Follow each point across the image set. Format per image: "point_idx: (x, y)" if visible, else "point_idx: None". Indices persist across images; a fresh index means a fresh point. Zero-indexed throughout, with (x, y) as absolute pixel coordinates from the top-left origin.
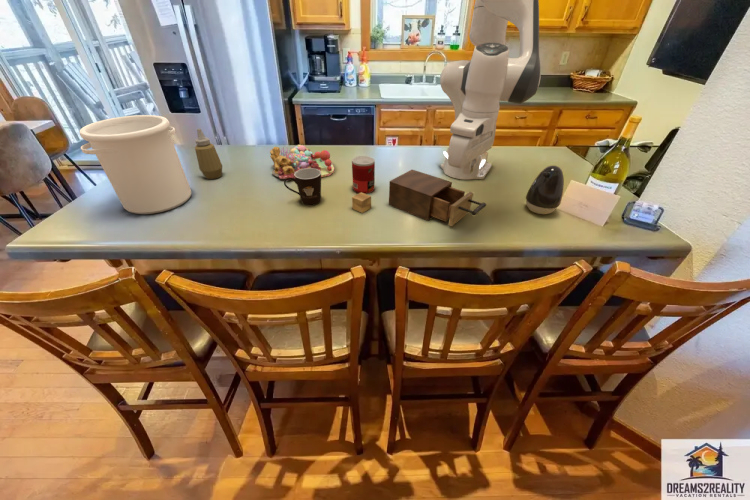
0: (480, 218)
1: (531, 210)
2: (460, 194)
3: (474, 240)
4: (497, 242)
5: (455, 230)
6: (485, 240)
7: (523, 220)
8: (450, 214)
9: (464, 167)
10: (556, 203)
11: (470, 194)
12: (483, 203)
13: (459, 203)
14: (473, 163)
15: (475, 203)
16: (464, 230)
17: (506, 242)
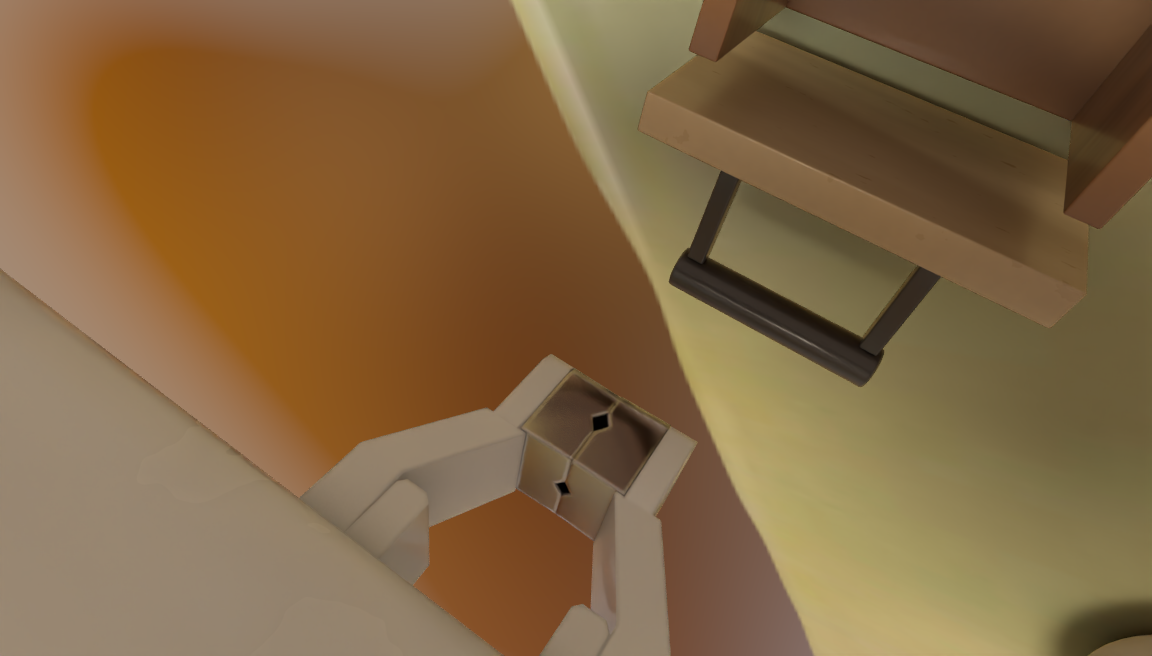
0: None
1: (1149, 635)
2: (1097, 158)
3: (656, 214)
4: (686, 330)
5: None
6: None
7: (1003, 532)
8: (692, 61)
9: (481, 417)
10: None
11: (980, 290)
12: (844, 370)
13: (716, 166)
14: (592, 578)
15: (889, 302)
16: None
17: (703, 370)
